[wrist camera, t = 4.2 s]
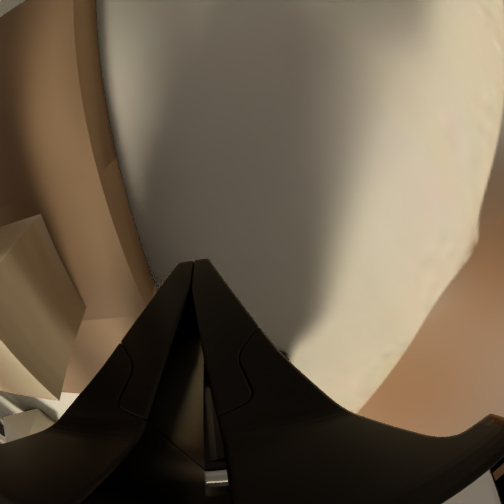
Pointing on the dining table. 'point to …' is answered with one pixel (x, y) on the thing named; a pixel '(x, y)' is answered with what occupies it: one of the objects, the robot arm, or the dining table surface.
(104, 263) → the board
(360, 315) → the dining table surface
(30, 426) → the die
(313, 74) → the dining table surface
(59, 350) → the birch cube
